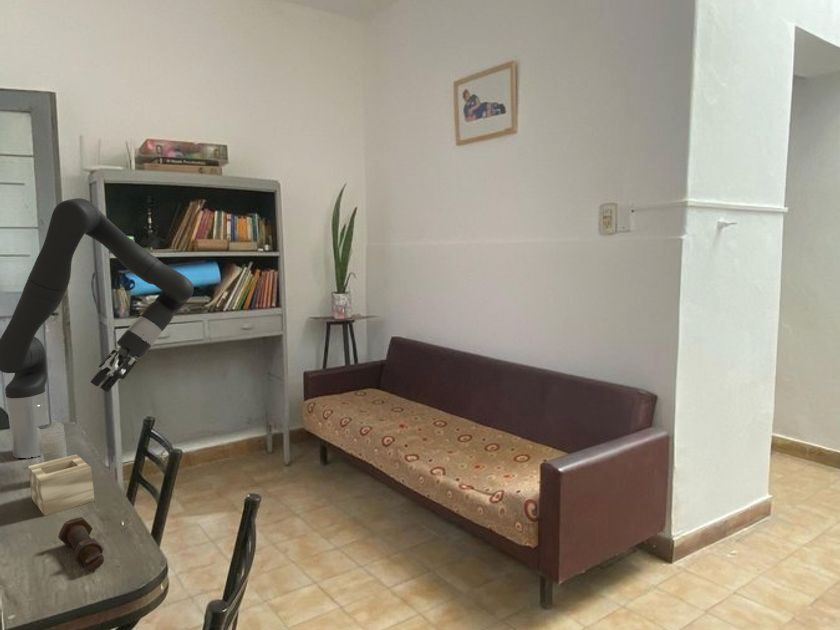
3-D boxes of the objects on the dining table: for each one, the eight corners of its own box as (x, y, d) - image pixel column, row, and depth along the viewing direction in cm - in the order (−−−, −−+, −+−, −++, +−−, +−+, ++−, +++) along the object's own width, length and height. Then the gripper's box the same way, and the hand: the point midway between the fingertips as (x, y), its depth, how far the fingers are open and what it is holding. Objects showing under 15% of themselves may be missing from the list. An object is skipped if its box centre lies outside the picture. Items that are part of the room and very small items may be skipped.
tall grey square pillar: (43, 480, 150) (37, 426, 148) (65, 474, 153) (59, 421, 151) (46, 484, 147) (40, 429, 145) (69, 478, 151) (63, 424, 149)
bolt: (92, 583, 108) (72, 549, 119) (117, 561, 110) (95, 529, 121) (71, 564, 105) (52, 531, 116) (97, 541, 107) (76, 511, 118)
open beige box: (32, 499, 139) (28, 466, 138) (79, 485, 146) (76, 454, 145) (44, 515, 130) (40, 481, 129) (94, 500, 137) (91, 467, 136)
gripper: (119, 326, 164) (78, 375, 158) (137, 331, 154) (94, 383, 148) (141, 342, 168) (102, 390, 162) (160, 348, 158) (119, 399, 152)
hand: (98, 387), depth 155 cm, fingers open, 8 cm apart
